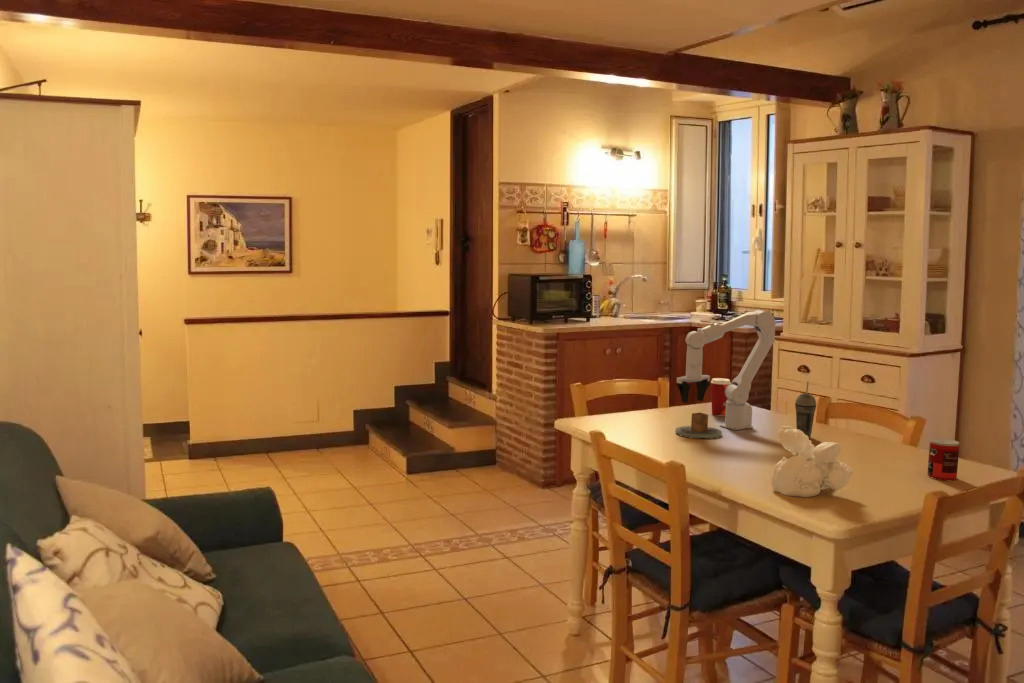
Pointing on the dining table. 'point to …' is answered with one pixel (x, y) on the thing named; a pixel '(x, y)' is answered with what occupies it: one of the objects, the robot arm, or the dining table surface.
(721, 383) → the paper cup
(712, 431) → the dish
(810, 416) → the beverage cup
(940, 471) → the canned food
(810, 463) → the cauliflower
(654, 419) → the dining table surface
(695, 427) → the walnut block
